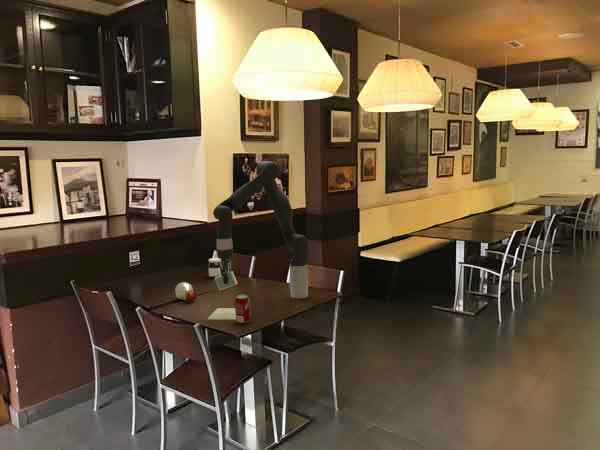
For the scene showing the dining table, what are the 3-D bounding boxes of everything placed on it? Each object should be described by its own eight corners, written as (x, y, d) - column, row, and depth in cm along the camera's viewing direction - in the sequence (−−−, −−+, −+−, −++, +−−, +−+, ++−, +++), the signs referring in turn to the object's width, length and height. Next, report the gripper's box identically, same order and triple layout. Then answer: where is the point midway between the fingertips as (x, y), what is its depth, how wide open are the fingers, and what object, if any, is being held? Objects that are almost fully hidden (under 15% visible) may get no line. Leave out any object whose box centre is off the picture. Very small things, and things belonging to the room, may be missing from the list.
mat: (217, 309, 243) (217, 308, 243) (245, 309, 241) (245, 308, 241) (207, 320, 228) (207, 318, 228) (236, 320, 226) (236, 319, 226)
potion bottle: (183, 299, 270) (193, 308, 258) (169, 291, 264) (178, 301, 252) (192, 284, 271) (203, 293, 259) (178, 277, 265) (188, 285, 253)
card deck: (221, 289, 238) (215, 277, 237) (237, 283, 236) (232, 270, 236) (219, 290, 235) (214, 278, 235) (236, 284, 234) (231, 271, 233)
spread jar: (209, 275, 316) (208, 258, 315) (227, 274, 317) (226, 256, 316) (208, 280, 304) (207, 261, 303) (226, 279, 306) (225, 260, 304)
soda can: (242, 325, 219) (241, 299, 217) (232, 322, 223) (231, 296, 221) (254, 321, 224) (252, 295, 222) (244, 318, 228) (242, 293, 226)
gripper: (221, 245, 240) (223, 279, 243) (212, 250, 227) (214, 286, 229) (236, 244, 239) (238, 279, 242) (228, 250, 226) (230, 286, 228)
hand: (226, 282), depth 235 cm, fingers closed on card deck, 2 cm apart
